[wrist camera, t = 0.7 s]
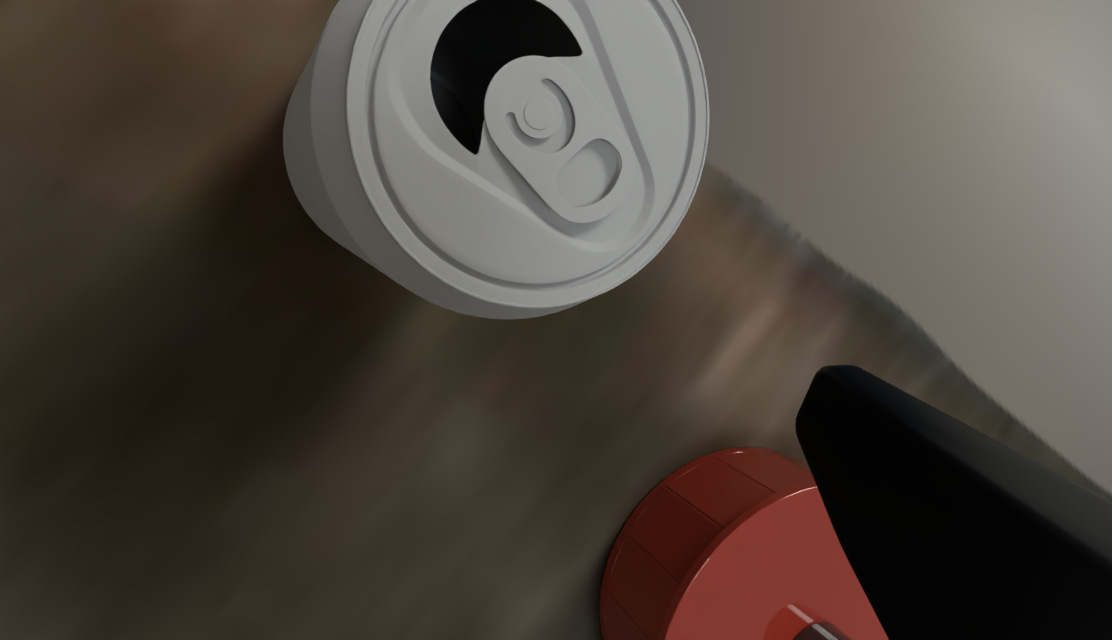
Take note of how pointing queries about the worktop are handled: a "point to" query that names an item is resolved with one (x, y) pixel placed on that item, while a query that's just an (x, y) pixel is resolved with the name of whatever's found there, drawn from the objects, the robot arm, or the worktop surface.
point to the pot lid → (773, 579)
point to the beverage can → (500, 144)
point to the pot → (683, 532)
